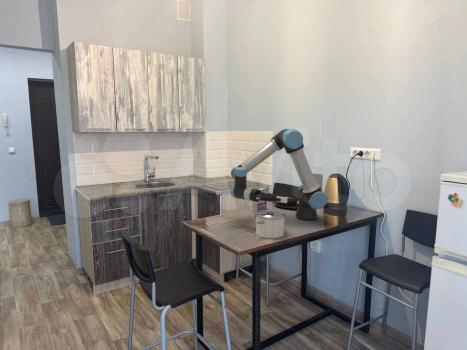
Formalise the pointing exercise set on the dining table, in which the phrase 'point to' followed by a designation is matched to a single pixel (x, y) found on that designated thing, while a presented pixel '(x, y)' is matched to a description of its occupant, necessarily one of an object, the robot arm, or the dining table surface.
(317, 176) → the cylinder vase
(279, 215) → the lid
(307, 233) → the dining table surface
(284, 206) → the casserole
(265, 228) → the stockpot
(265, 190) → the candy bar box
